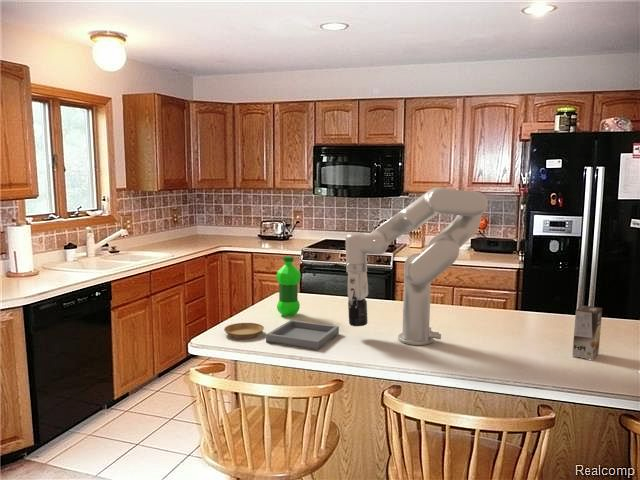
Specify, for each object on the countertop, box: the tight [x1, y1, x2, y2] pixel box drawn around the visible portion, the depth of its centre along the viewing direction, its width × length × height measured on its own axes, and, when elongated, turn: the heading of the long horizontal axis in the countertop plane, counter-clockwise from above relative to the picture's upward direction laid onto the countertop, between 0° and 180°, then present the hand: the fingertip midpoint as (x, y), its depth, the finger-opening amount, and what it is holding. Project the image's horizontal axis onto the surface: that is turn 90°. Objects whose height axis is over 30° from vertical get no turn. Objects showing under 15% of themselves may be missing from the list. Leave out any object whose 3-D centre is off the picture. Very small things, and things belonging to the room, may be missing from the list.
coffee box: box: [571, 305, 603, 361], centre depth 176 cm, size 9×6×16 cm
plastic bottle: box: [275, 255, 302, 318], centre depth 221 cm, size 10×10×25 cm
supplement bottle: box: [347, 298, 369, 327], centre depth 191 cm, size 7×7×12 cm
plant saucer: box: [223, 322, 265, 340], centre depth 196 cm, size 15×15×3 cm
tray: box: [265, 319, 340, 351], centre depth 192 cm, size 20×20×3 cm
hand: (357, 315), depth 191 cm, fingers closed on supplement bottle, 6 cm apart
